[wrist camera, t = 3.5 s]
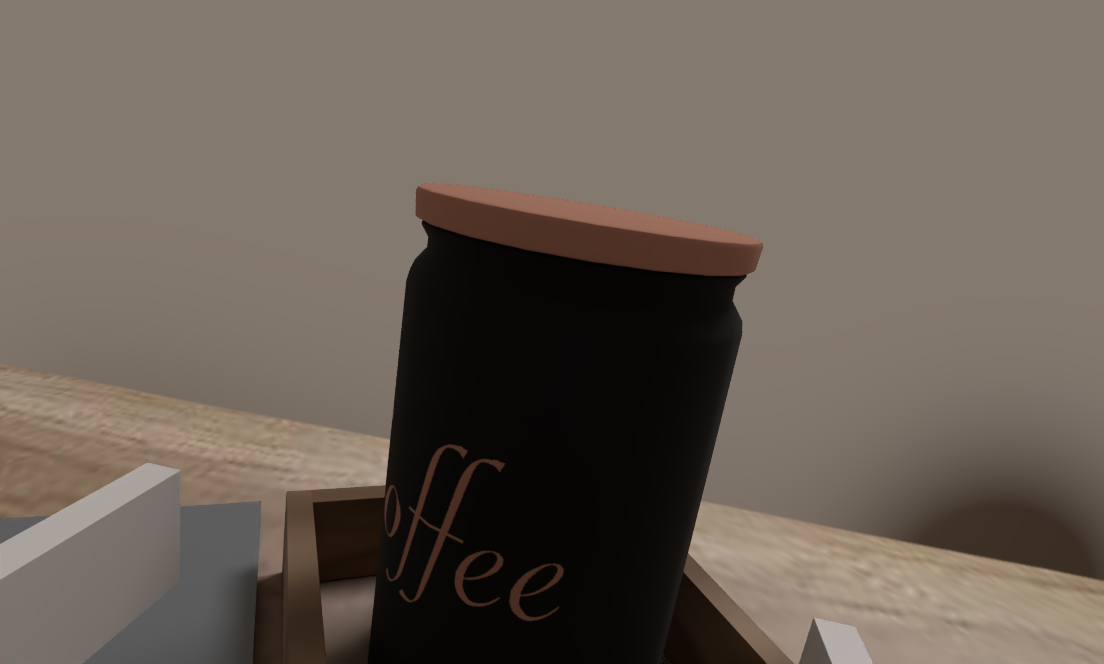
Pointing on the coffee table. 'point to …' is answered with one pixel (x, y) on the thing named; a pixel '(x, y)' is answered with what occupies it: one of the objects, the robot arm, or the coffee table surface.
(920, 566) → the coffee table surface
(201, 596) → the rubber mat
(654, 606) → the coffee jar
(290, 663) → the walnut crate
